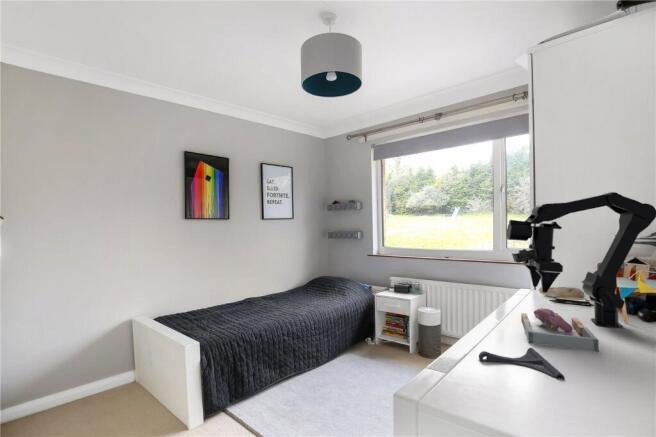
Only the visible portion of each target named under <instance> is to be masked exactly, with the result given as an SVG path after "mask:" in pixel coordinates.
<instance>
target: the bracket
mask: <svg viewBox="0 0 656 437" xmlns="http://www.w3.org/2000/svg"><path fill="white" fill-rule="evenodd" d="M484 358H485V359H484ZM478 359H479V361H480V362H481V363H498V364H499V363H501V364H514V365H518V366H522V367H527V368H530V369H533V370H536V371H538V372H541V373H543V374H545V375H547V376H549V377H551V378H555V379H558V377H559V378H561V380H565V379H566V378H565V376H564V374H562V373H561V371H559V369H557V368H556V367H554V366H553V365H552V364H551V362H549V361H548V360H547V359H545V358H544V356H542V355H541V354H540V353H539V352H538V351H537V350H535V349H534V348H533V347H529V348H527V351H526V353H525V354H523V355H522V356H519V357H508V356H504V355H503V356H502V355H498V354H494V353H492V352H489V351H485V350H483V351H481V352H479V354H478Z"/></svg>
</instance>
